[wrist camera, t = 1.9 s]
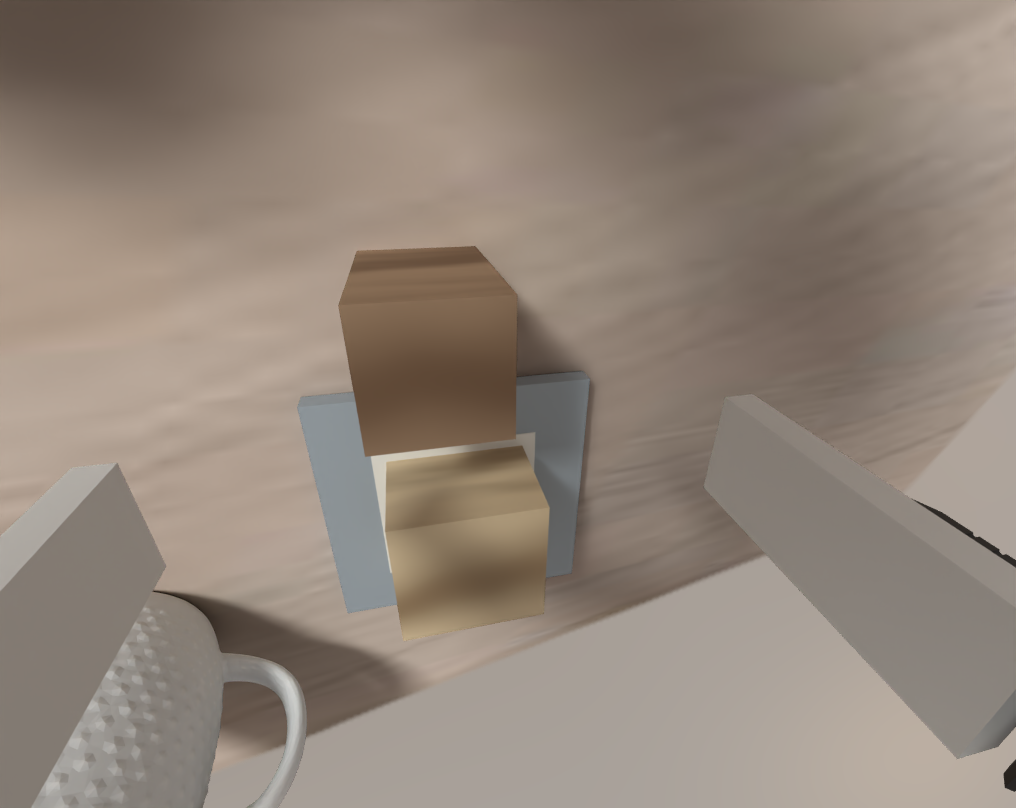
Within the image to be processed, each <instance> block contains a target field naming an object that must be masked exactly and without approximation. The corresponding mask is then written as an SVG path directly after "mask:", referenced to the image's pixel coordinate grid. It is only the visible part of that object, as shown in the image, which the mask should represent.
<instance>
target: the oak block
mask: <svg viewBox="0 0 1016 808" xmlns="http://www.w3.org/2000/svg"><path fill="white" fill-rule="evenodd" d="M549 511H550V507H549V505H548V503H547V500H546V498H545V496H544V493H543V491H542V489H541V487H540V484H539V482H538V480H537V478H536V475H535V473H534V471H533V469H532V466H531V464H530V462H529V460H528V457H527V455H526V453H525V451H524V448H523V446H522V445H521V446H513V447H505V448H497V449H489V450H480V451H472V452H464V453H456V454H447V455H439V456H431V457H423V458H415V459H406V460H398V461H390V462H386V513H385V534H386V540H387V546H388V552H389V558H390V564H391V570H392V576H393V582H394V588H395V594H396V600H397V606H398V612H399V618H400V624H401V630H402V636H403V641H407V640H412V639H417V638H422V637H427V636H432V635H438V634H443V633H448V632H453V631H458V630H464V629H469V628H474V627H479V626H484V625H489V624H495V623H500V622H505V621H510V620H515V619H520V618H526V617H531V616H536V615H541V614H544V601H545V583H546V565H547V547H548V529H549Z"/></svg>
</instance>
